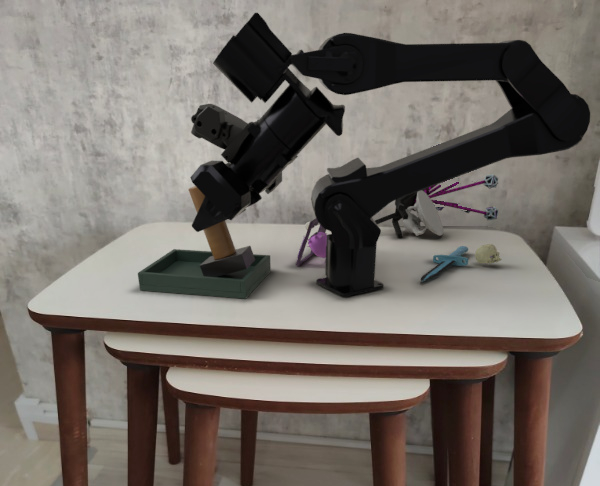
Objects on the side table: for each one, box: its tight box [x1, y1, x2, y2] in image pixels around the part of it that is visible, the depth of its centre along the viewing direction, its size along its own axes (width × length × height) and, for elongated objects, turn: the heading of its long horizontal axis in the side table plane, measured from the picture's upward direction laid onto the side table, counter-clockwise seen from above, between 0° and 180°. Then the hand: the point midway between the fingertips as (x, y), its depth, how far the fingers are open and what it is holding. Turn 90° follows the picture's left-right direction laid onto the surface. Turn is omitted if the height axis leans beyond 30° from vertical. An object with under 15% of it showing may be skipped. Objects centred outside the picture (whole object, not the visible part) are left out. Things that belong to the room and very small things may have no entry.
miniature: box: [402, 190, 444, 237], centre depth 100 cm, size 8×8×5 cm
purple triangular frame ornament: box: [295, 217, 328, 267], centre depth 87 cm, size 7×5×9 cm
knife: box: [420, 245, 469, 283], centre depth 84 cm, size 17×1×5 cm
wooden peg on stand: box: [188, 185, 255, 277], centre depth 77 cm, size 6×4×11 cm, turn 78°
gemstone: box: [474, 243, 503, 265], centre depth 85 cm, size 3×4×3 cm
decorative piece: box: [374, 173, 500, 239], centre depth 104 cm, size 14×14×30 cm
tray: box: [137, 248, 272, 300], centre depth 80 cm, size 14×11×2 cm
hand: (199, 225), depth 77 cm, fingers closed on wooden peg on stand, 3 cm apart
